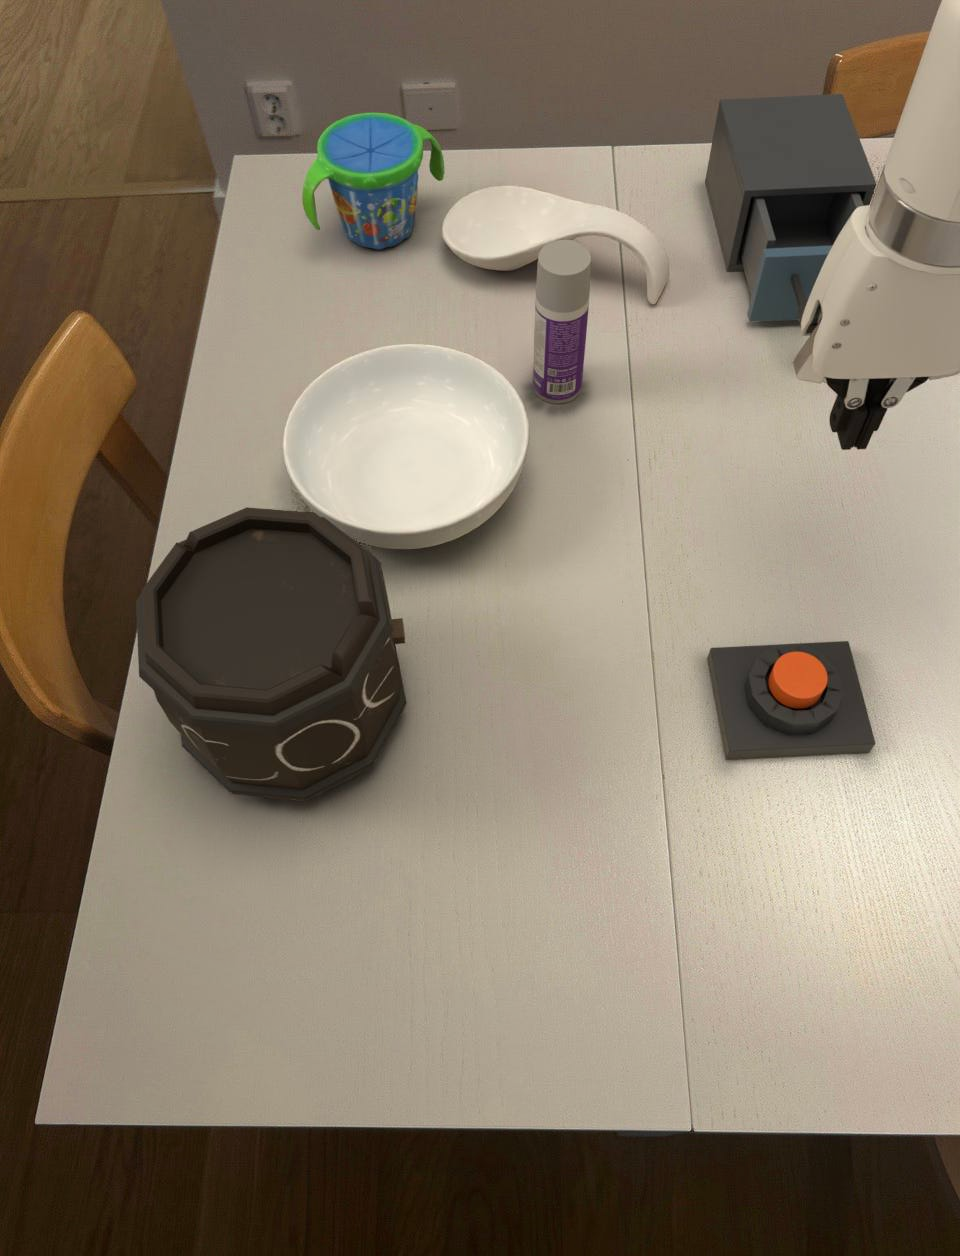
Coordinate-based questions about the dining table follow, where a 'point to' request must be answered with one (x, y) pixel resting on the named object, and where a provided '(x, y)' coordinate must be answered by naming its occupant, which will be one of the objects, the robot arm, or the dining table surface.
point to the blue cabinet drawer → (790, 249)
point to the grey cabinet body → (780, 158)
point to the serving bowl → (407, 445)
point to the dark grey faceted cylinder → (273, 652)
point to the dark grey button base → (774, 728)
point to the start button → (798, 680)
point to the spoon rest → (542, 230)
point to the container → (561, 320)
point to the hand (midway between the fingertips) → (848, 434)
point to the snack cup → (372, 176)
